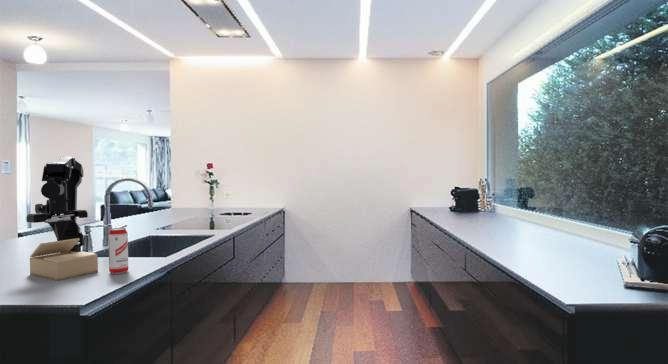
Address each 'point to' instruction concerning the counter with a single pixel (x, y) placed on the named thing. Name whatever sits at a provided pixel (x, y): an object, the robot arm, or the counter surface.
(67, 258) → the flap
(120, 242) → the beer can
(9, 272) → the counter surface
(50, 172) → the robot arm
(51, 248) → the flap
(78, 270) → the cardboard box
